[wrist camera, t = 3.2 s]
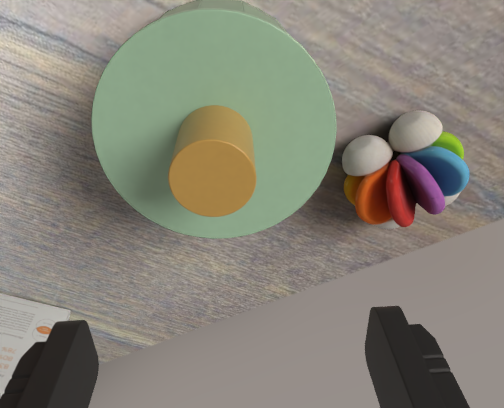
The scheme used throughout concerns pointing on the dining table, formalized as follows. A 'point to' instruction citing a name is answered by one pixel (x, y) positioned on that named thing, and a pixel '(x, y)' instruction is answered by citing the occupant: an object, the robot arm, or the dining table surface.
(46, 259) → the dining table surface
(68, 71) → the dining table surface
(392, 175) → the rainbow disc rolling toy
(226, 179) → the lid
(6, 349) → the small box
